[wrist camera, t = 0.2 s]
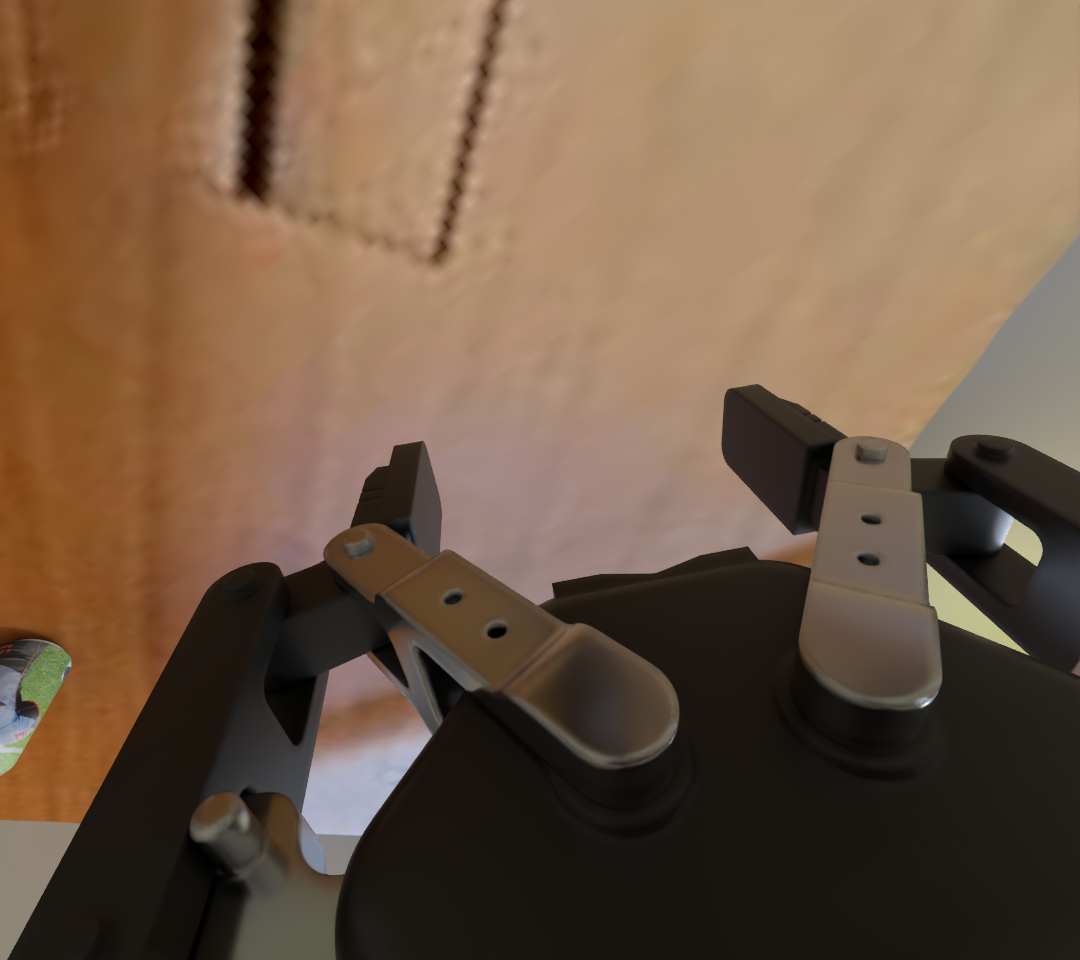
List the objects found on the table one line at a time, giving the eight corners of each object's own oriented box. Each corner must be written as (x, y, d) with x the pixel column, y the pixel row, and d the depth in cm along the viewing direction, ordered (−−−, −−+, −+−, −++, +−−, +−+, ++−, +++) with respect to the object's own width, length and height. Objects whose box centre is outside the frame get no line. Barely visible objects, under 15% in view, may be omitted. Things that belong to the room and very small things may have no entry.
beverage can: (25, 618, 48) (-96, 736, 38) (104, 657, 52) (13, 775, 41) (-11, 653, 50) (-137, 776, 39) (68, 688, 53) (-29, 810, 43)
